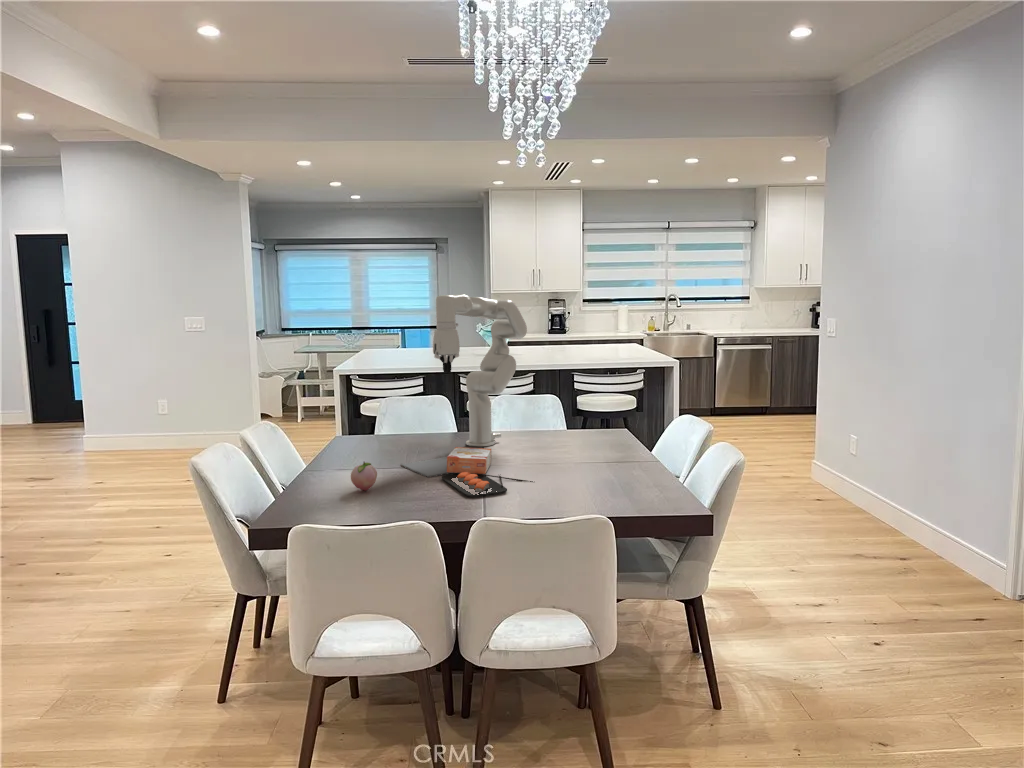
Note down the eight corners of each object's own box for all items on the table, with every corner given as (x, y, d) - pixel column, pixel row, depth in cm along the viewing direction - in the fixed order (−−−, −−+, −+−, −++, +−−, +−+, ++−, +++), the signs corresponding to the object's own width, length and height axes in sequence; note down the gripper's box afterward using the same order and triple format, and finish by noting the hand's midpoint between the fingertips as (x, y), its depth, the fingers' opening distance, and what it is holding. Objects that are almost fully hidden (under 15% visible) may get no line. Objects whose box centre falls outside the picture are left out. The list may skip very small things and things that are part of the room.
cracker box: (491, 447, 266) (486, 458, 245) (491, 463, 267) (485, 475, 246) (454, 445, 267) (446, 456, 246) (454, 461, 268) (446, 473, 247)
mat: (451, 457, 278) (451, 456, 278) (480, 468, 260) (480, 466, 260) (400, 465, 265) (400, 464, 265) (427, 477, 247) (427, 475, 247)
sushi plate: (438, 480, 246) (438, 469, 246) (516, 470, 258) (516, 460, 258) (468, 502, 220) (468, 490, 219) (553, 490, 232) (553, 478, 232)
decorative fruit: (355, 487, 236) (354, 458, 234) (379, 487, 235) (378, 458, 234) (348, 495, 226) (346, 464, 225) (373, 495, 226) (372, 464, 225)
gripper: (457, 325, 286) (458, 370, 288) (424, 326, 278) (426, 373, 280) (467, 326, 280) (468, 371, 282) (433, 327, 272) (435, 374, 274)
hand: (447, 372), depth 281 cm, fingers closed
